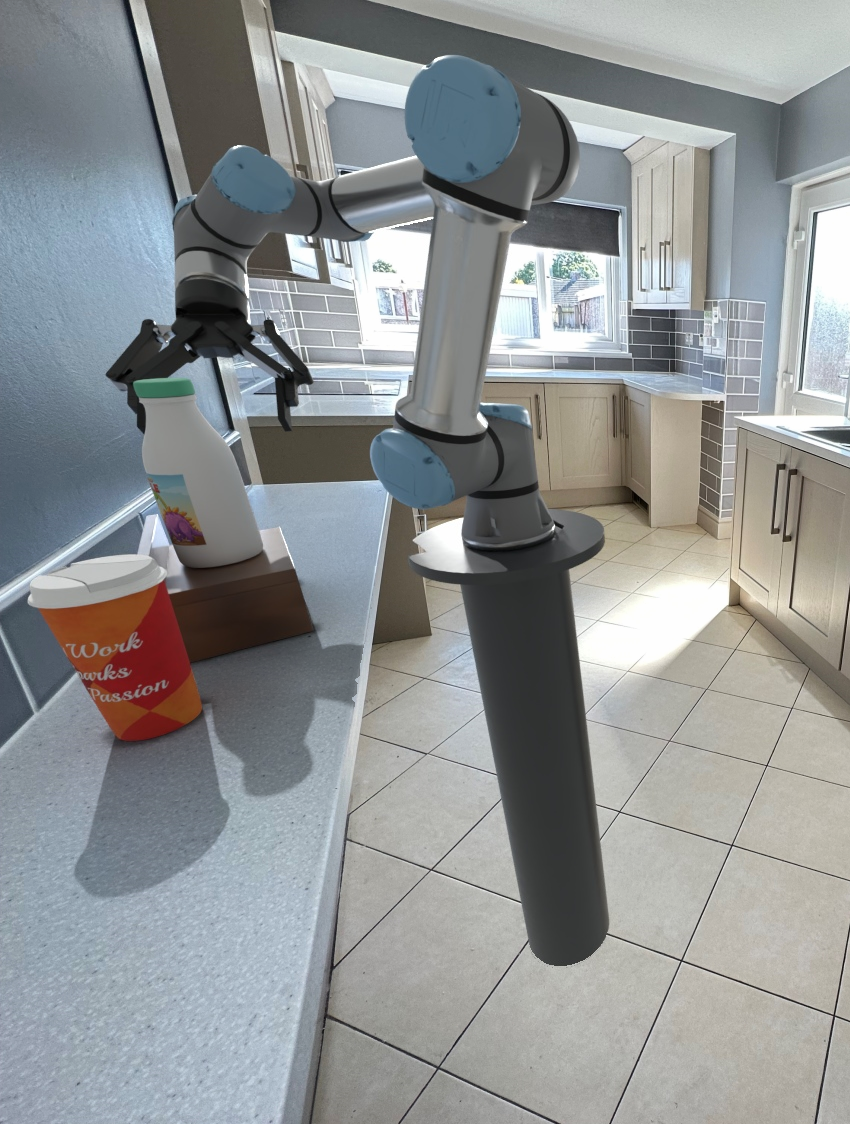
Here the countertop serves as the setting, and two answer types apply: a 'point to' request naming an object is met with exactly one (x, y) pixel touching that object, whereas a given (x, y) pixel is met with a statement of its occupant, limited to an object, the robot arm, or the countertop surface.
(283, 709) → the countertop surface
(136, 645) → the coffee cup
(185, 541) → the milk bottle
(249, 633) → the brown wooden box
